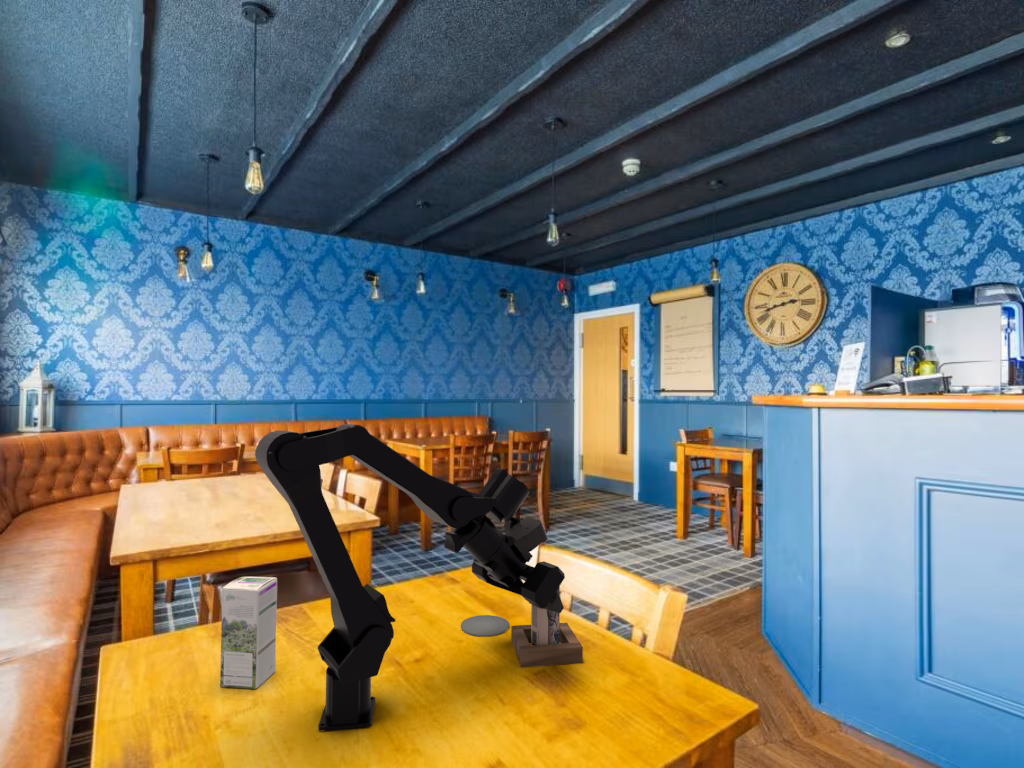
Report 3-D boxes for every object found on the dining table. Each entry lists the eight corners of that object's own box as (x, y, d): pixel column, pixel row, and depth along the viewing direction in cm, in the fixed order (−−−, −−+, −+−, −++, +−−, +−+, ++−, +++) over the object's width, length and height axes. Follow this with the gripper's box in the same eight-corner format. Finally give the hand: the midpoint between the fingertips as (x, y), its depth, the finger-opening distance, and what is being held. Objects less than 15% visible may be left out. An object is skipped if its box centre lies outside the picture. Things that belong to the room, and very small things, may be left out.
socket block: (582, 662, 88) (582, 647, 88) (520, 667, 86) (520, 650, 86) (567, 636, 98) (567, 622, 98) (511, 640, 96) (511, 625, 96)
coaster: (512, 635, 98) (512, 632, 98) (462, 638, 97) (462, 635, 97) (505, 616, 107) (505, 614, 107) (459, 618, 106) (459, 616, 106)
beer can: (557, 659, 89) (558, 583, 90) (528, 656, 90) (529, 581, 91) (561, 646, 94) (561, 575, 94) (533, 643, 95) (533, 573, 95)
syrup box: (277, 671, 85) (279, 575, 85) (255, 691, 79) (258, 588, 79) (241, 669, 85) (244, 574, 86) (217, 688, 79) (220, 586, 80)
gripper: (554, 513, 82) (608, 575, 88) (486, 496, 97) (535, 550, 103) (511, 577, 77) (571, 637, 83) (446, 548, 92) (501, 601, 98)
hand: (543, 601), depth 92 cm, fingers open, 9 cm apart
